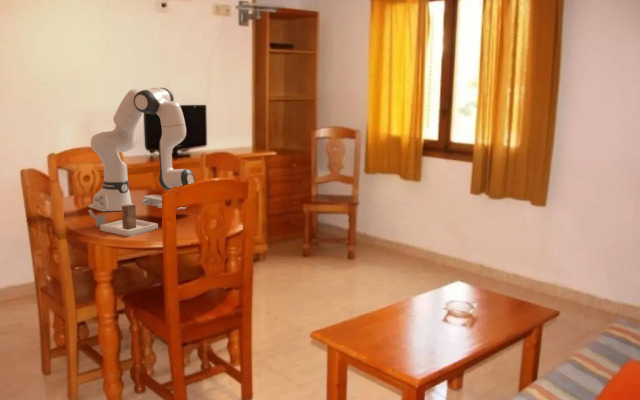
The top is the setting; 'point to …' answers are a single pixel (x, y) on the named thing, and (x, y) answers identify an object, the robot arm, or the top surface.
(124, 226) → the walnut block
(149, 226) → the tray
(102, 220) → the lighter
